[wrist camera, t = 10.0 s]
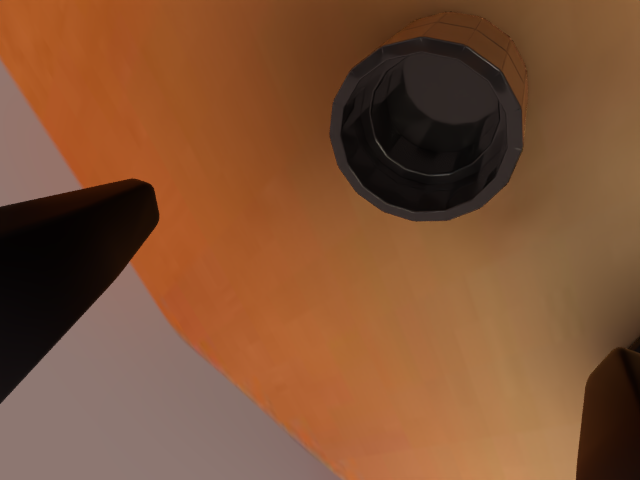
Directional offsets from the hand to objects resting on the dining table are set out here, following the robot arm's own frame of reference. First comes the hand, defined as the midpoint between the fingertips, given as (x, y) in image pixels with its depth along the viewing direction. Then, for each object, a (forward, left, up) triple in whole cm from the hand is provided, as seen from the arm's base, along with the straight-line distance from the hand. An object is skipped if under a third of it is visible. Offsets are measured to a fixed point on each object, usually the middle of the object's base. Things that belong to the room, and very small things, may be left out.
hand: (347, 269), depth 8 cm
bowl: (0, 0, -11) cm, 11 cm away
